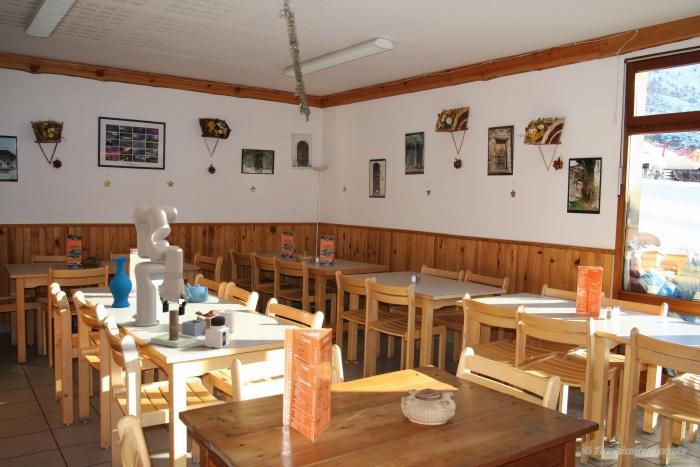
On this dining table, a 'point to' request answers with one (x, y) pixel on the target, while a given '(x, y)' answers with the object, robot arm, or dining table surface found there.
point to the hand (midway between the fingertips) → (173, 313)
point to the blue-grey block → (194, 328)
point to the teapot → (197, 293)
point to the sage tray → (178, 343)
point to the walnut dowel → (173, 325)
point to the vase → (120, 284)
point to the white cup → (229, 318)
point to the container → (217, 333)
